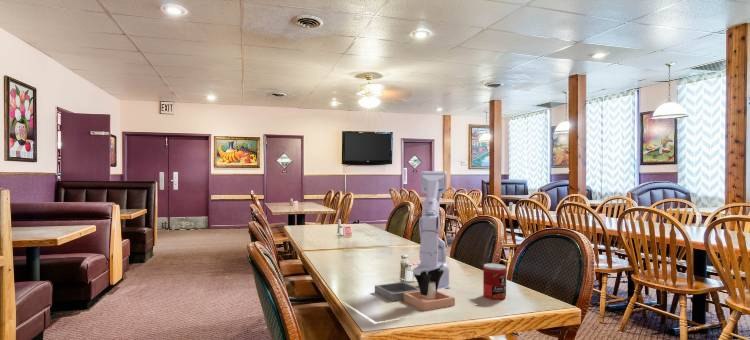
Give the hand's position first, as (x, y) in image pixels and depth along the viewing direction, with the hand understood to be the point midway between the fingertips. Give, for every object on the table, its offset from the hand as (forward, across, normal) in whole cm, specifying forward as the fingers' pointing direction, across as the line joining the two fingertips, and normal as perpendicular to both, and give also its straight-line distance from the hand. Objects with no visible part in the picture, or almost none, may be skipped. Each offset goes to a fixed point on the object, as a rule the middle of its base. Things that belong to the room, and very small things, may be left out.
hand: (428, 293), depth 139 cm
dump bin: (+4, 0, 0) cm, 4 cm away
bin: (+4, 0, -13) cm, 14 cm away
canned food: (+4, -23, +12) cm, 26 cm away
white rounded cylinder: (+2, 0, 0) cm, 2 cm away
